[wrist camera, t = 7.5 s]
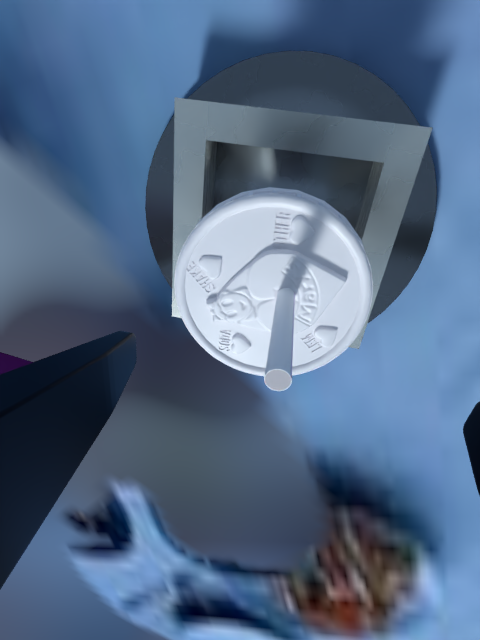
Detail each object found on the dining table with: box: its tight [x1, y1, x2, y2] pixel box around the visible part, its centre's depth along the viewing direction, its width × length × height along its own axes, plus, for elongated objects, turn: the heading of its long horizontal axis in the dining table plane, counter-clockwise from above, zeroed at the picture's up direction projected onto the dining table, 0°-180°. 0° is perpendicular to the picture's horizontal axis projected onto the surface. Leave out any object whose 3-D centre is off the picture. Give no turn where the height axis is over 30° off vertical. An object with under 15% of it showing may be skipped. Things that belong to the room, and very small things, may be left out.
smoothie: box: [174, 187, 373, 391], centre depth 13 cm, size 6×6×14 cm
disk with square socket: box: [145, 51, 437, 349], centre depth 18 cm, size 16×16×3 cm
